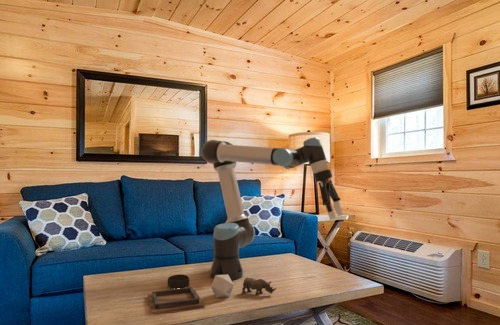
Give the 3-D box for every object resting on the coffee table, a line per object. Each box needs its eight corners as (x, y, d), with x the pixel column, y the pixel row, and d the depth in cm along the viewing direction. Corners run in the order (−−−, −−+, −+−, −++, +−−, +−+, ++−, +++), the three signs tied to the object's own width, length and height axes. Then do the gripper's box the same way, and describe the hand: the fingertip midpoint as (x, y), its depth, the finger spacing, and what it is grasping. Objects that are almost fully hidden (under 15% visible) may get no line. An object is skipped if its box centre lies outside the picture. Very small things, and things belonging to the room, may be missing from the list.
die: (227, 303, 129) (239, 279, 133) (206, 291, 129) (219, 267, 133) (224, 303, 137) (236, 280, 141) (205, 292, 137) (217, 270, 141)
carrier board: (147, 297, 134) (147, 290, 134) (194, 291, 140) (194, 285, 140) (151, 315, 117) (151, 307, 117) (204, 307, 123) (204, 300, 123)
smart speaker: (168, 291, 142) (168, 281, 142) (167, 284, 150) (167, 274, 150) (190, 289, 144) (190, 279, 144) (188, 282, 152) (188, 273, 153)
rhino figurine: (274, 298, 133) (274, 282, 133) (240, 293, 137) (240, 278, 138) (277, 294, 136) (277, 278, 137) (244, 290, 141) (244, 275, 141)
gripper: (321, 168, 144) (338, 218, 141) (336, 168, 166) (351, 211, 163) (305, 174, 147) (321, 223, 144) (321, 173, 170) (335, 216, 166)
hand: (337, 217), depth 153 cm, fingers open, 13 cm apart
